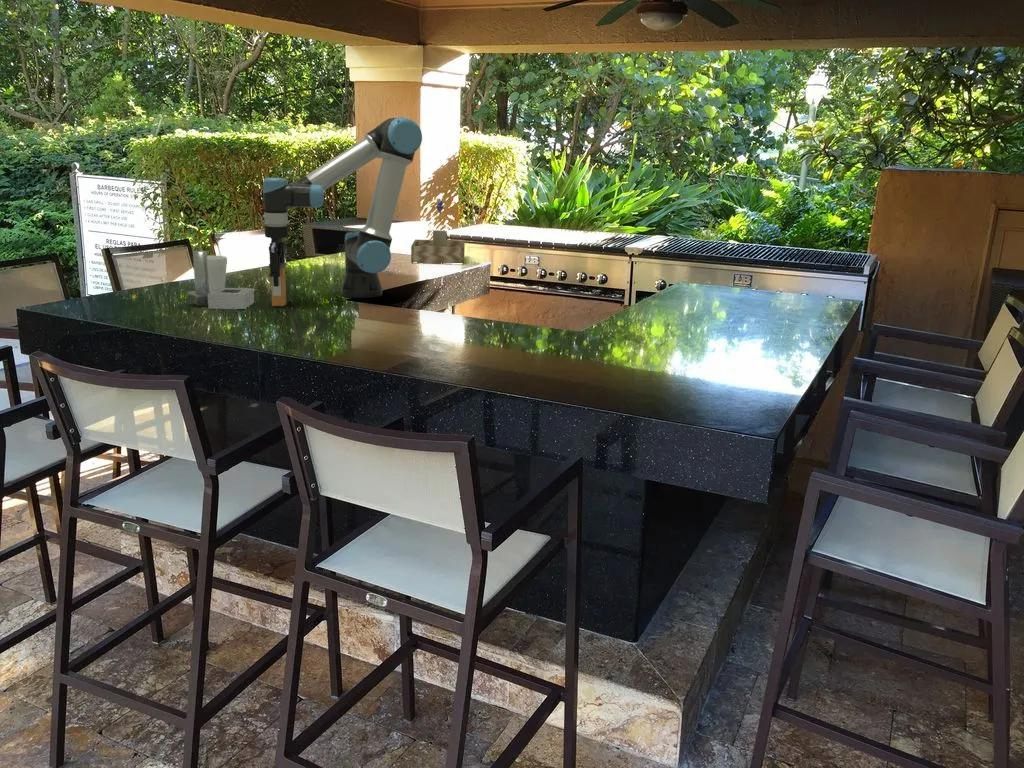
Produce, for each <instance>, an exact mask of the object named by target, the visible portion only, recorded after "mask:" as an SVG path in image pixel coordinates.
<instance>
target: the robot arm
mask: <svg viewBox="0 0 1024 768" xmlns="http://www.w3.org/2000/svg"><path fill="white" fill-rule="evenodd" d="M422 133H423V132H422V130H421V128H420V126H419V125H418V123H417V122H416V121H414V120H412V119H410V118H408V117H403V116H401V117H392V118H391V117H390V118H388V119H386V120H383V121H382V122H381V123H380V124H379V125H377V126H376V127H375V128H373V129H371V130H370V131H369V132H367V133H366V134H364V138H363V139H362V140H360V141H359V142H357V143H355V144H354V145H352V146H351V147H349V148H347V149H346V150H344V151H342V152H341V153H339V154H338V155H336V156H335V157H333V158H331V159H330V160H328V161H327V162H325V163H324V164H322V165H320V166H319V167H317V168H316V169H314V170H312V171H310V172H309V173H308V174H306V175H305V176H303V177H301V178H299V179H298V180H296V181H293V182H290V183H287V179H286V178H283V177H266V178H264V179H263V181H262V182H263V183H262V185H263V186H262V196H263V197H262V198H263V201H262V202H263V215H262V218H263V219H264V224H265V226H264V237H265V238H268V239H270V243H269V246H268V253H269V264H270V268H269V271H270V272H269V273H270V274H269V278H271V277H272V286H273V296H281V277H280V263H286V253H285V250H286V249H285V248H286V243H285V241H283V239H285V238H288V237H289V227H288V226H287V225H289V219H288V218H289V217H288V208H311V209H314V208H321V207H323V205H324V200H325V199H324V198H325V197H324V191H325V190H327V189H329V188H330V187H332V186H333V185H335V184H337V183H338V182H340V181H342V180H343V179H345V178H346V177H347V176H349V175H351V174H353V173H354V172H356V171H357V170H359V169H360V168H362V167H364V166H365V165H367V164H369V163H370V162H372V161H373V160H375V159H381V163H380V168H379V171H378V172H379V173H378V175H377V179H376V183H375V188H374V191H373V195H372V199H371V203H370V206H369V211H368V215H367V219H366V222H365V226H364V227H362V228H360V229H359V231H355V232H352V231H351V232H349V231H348V232H346V233H345V235H344V255H345V256H344V257H345V258H344V259H345V260H344V261H345V262H344V264H345V266H344V267H345V273H344V274H345V275H344V278H343V281H342V284H341V288H340V295H342V296H343V297H348V298H355V299H356V298H361V299H367V298H368V299H369V298H377V297H381V296H383V287H382V284H381V281H380V278H379V275H378V274H379V273H381V272H383V271H385V270H386V269H387V268H388V267H389V265H390V263H391V260H392V253H391V250H390V249H391V245H392V240H393V238H392V236H391V234H390V231H391V228H392V223H393V220H394V217H395V213H396V208H397V204H398V201H399V197H400V193H401V190H402V189H401V188H402V186H403V182H404V178H405V174H406V171H407V166H409V165H410V164H412V163H413V160H414V157H415V153H416V152H417V151H418V149H419V148H420V147H421V144H422V141H423V134H422ZM286 274H287V271H286V268H285V275H286Z"/></svg>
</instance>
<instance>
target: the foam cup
mask: <svg viewBox="0 0 1024 768" xmlns="http://www.w3.org/2000/svg"><path fill="white" fill-rule="evenodd" d="M207 261H208V277H209V290H210V291H213V290H215V289H217V288H226V278H227V277H226V276H227V265H228V257H226V256H224V255H207Z"/></svg>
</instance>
